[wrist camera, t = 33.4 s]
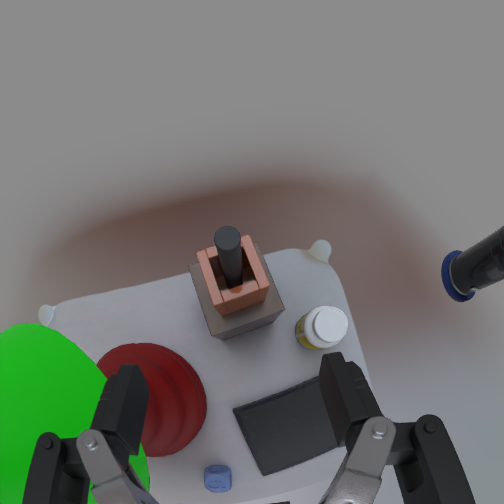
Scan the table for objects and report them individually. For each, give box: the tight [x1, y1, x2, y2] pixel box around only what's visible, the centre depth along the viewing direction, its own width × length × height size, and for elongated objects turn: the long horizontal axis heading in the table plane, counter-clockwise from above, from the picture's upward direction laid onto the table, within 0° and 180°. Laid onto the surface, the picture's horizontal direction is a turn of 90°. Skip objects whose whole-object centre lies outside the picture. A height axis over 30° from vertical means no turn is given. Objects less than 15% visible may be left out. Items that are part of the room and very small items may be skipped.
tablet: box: [233, 376, 338, 476], centre depth 38 cm, size 18×14×1 cm
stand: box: [188, 242, 285, 340], centre depth 39 cm, size 9×9×14 cm
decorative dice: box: [204, 465, 232, 492], centre depth 33 cm, size 4×4×4 cm
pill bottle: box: [295, 306, 348, 349], centre depth 39 cm, size 6×6×11 cm
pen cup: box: [196, 234, 270, 316], centre depth 29 cm, size 5×5×8 cm
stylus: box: [214, 226, 243, 289], centre depth 25 cm, size 2×2×14 cm
